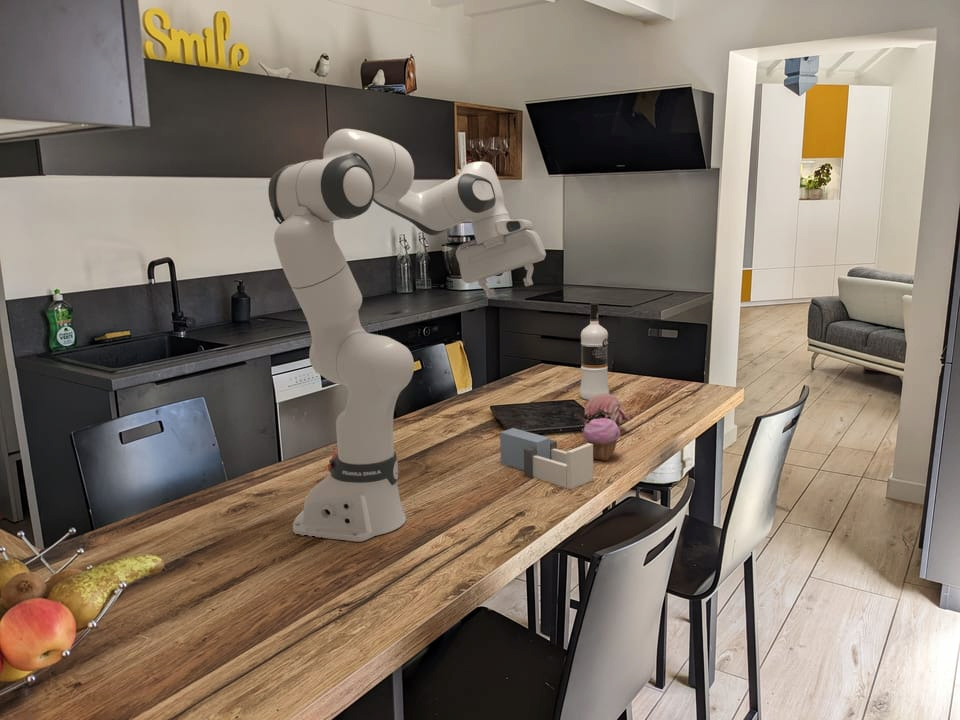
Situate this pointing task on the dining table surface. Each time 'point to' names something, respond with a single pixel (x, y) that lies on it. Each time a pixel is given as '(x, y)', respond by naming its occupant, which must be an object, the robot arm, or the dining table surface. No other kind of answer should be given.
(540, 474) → the frame
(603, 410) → the toy
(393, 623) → the dining table surface
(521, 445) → the grey rectangular box
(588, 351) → the vodka
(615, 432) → the cupcake
